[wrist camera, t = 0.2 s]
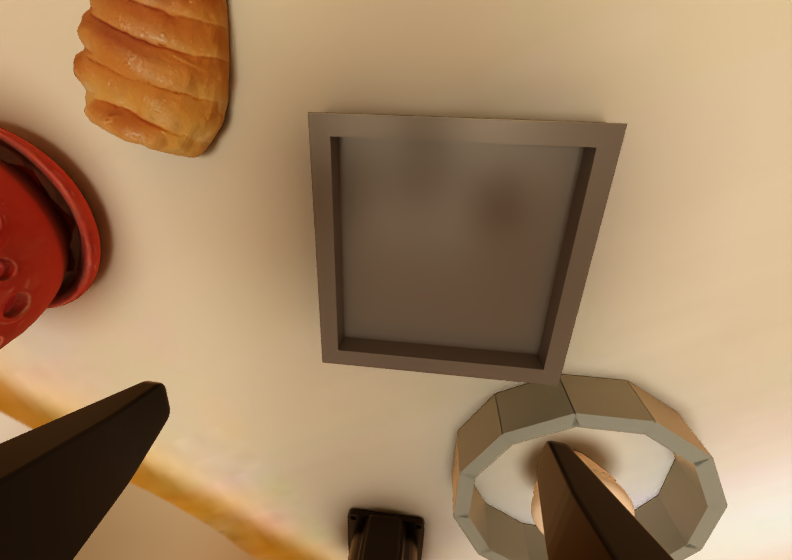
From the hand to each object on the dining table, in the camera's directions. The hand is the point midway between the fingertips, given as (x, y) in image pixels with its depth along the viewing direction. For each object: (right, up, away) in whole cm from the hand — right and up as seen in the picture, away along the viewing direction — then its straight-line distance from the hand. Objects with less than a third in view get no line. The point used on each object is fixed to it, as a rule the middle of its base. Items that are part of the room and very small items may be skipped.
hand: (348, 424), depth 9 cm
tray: (+4, +5, +13) cm, 15 cm away
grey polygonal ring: (+13, -10, +19) cm, 25 cm away
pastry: (-11, +15, +11) cm, 21 cm away
